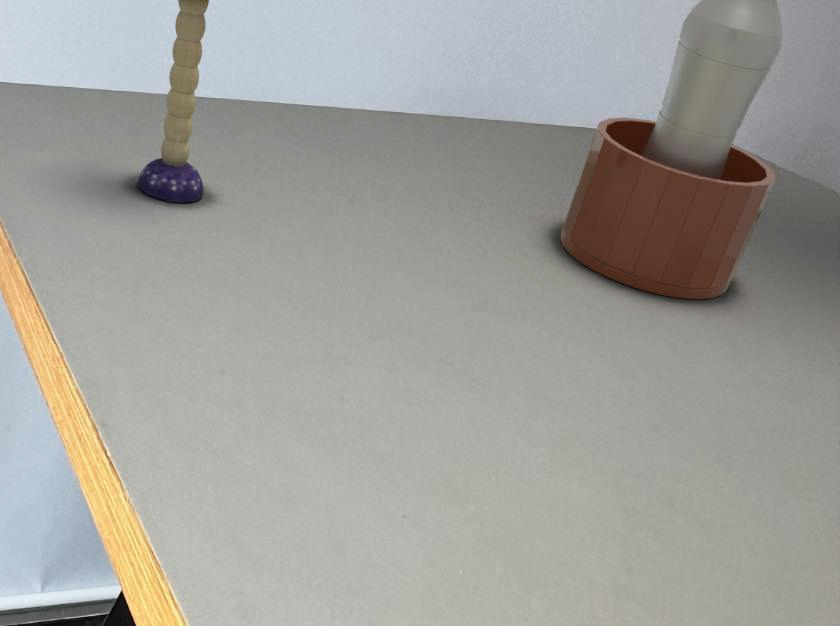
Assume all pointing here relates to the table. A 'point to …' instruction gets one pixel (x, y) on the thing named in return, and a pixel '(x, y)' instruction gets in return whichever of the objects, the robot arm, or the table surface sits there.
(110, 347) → the table surface
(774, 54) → the plastic bottle
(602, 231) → the crock
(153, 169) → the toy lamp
